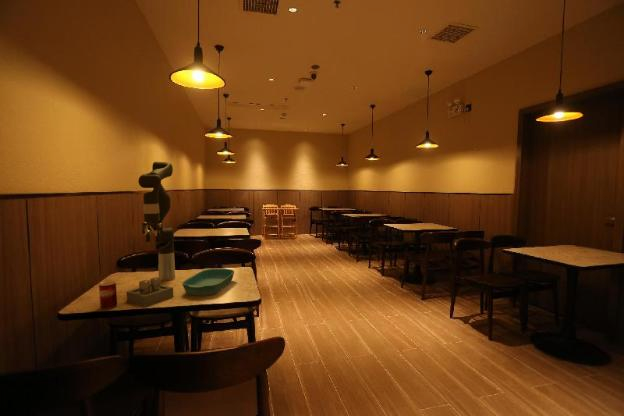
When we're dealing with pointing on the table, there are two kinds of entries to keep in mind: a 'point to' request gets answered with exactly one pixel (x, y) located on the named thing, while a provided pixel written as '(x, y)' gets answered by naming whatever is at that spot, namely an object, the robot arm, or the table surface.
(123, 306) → the table surface
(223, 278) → the casserole dish
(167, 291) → the block
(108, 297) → the soda can
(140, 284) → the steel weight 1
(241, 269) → the table surface
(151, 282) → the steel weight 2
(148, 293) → the scale pan
